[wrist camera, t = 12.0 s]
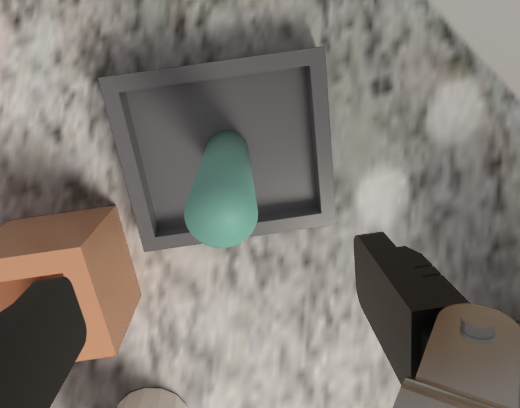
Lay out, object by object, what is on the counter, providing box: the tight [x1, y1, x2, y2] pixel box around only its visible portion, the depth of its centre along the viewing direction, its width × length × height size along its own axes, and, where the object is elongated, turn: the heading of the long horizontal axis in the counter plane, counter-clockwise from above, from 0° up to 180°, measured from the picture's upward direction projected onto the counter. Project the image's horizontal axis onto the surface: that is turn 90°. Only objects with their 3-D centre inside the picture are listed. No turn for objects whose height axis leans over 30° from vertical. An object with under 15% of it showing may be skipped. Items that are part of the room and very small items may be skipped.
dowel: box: [184, 130, 258, 248], centre depth 21 cm, size 3×3×12 cm
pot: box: [0, 205, 141, 362], centre depth 27 cm, size 8×8×7 cm
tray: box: [98, 46, 336, 252], centre depth 26 cm, size 14×12×2 cm
